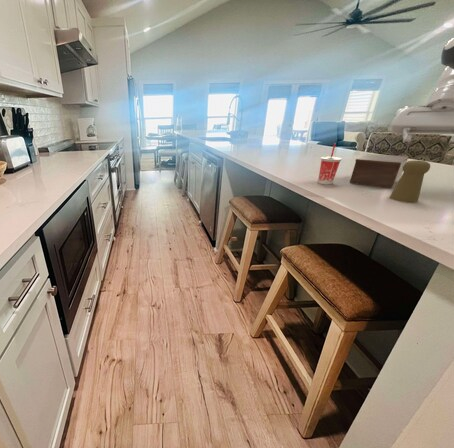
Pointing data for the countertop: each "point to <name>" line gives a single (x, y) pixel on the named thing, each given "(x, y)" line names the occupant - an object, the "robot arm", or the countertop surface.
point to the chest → (377, 174)
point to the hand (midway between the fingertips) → (428, 142)
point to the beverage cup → (328, 168)
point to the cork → (410, 181)
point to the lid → (382, 159)
